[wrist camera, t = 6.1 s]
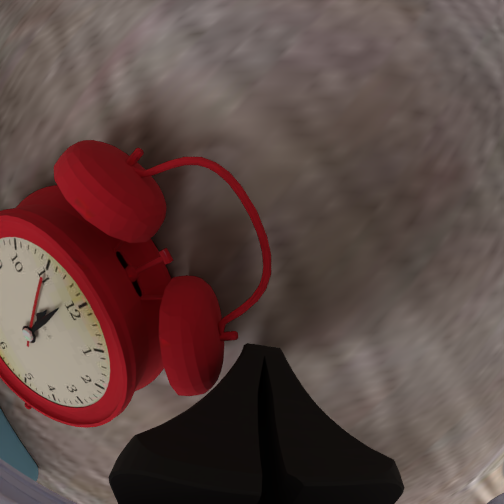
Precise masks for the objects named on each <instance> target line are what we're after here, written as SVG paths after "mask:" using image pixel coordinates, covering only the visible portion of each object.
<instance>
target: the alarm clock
mask: <svg viewBox="0 0 504 504" xmlns="http://www.w3.org/2000/svg"><path fill="white" fill-rule="evenodd" d="M143 154H144V152H143V150H142V149H140V148H136V149H135V151H134V152H133V153H132V154H131V155H130V156H129V155H128V154H126V153H124V152H123V151H121V150H120V149H118V148H116V147H115V146H112V145H109V144H107V143H104V142H99V141H95V140H85V141H80V142H78V143H76V144H74V145H72V146H70V147H69V148H68V149H67V150H66V151H65V152H64V153H63V154H62V155H61V156H60V158H59V159H58V161H57V162H56V164H55V165H54V180H55V181H56V183H57V185H55V186H49V187H45V188H42V189H40V190H37V191H35V192H34V193H32V194H30V195H29V196H27V197H26V198H25V199H24V200H23V201H21V203H20V204H19V205H18V206H17V207H16V208H13V209H6V210H2V211H0V378H1V379H2V380H3V381H4V382H5V384H6V385H7V386H8V387H9V388H10V389H11V390H12V391H13V392H14V393H15V394H16V395H17V396H19V397H20V398H21V399H22V400H23V401H24V402H25V407H26V408H27V409H31V408H34V409H35V410H37V411H38V412H40V413H42V414H43V415H45V416H47V417H49V418H51V419H53V420H55V421H58V422H61V423H63V424H67V425H71V426H75V427H96V426H100V425H103V424H105V423H107V422H109V421H111V420H112V419H113V418H115V417H116V416H118V415H119V414H120V413H122V412H123V411H124V409H125V408H126V407H127V405H128V404H129V402H130V401H131V399H132V396H133V394H134V392H135V391H136V390H139V389H141V388H143V387H145V386H146V385H148V384H149V383H151V382H152V381H153V380H154V379H155V378H156V377H157V376H158V375H159V374H160V373H161V371H162V370H163V369H164V368H165V371H166V374H167V377H168V380H169V383H170V385H171V386H172V388H173V389H174V390H175V392H176V393H177V394H178V395H182V396H193V395H200V394H204V393H206V392H207V391H208V390H209V389H211V388H212V387H213V385H214V384H215V383H216V381H217V380H218V377H219V375H220V372H221V369H222V364H223V356H224V341H228V340H237V338H238V333H237V332H236V331H231V332H230V331H229V332H224V329H225V325H226V324H227V323H228V322H230V321H232V320H234V319H235V318H237V317H239V316H241V315H242V314H243V313H244V312H246V311H247V310H248V309H249V308H250V307H251V306H253V305H254V304H255V303H256V302H257V301H258V300H259V299H260V297H261V296H262V294H263V293H264V291H265V290H266V288H267V285H268V282H269V279H270V276H271V252H270V248H269V243H268V239H267V235H266V233H265V230H264V228H263V225H262V223H261V220H260V218H259V215H258V213H257V210H256V209H255V207H254V205H253V204H252V202H251V200H250V199H249V197H248V196H247V194H246V192H245V191H244V189H243V188H242V186H241V185H240V184H239V183H238V182H237V180H236V179H235V178H234V177H233V176H232V175H231V174H230V172H229V171H227V170H226V169H224V168H223V167H222V166H220V165H219V164H217V163H216V162H213V161H211V160H208V159H205V158H203V157H182V158H178V159H174V160H170V161H167V162H165V163H162V164H160V165H157V166H155V167H152V168H150V169H147V170H145V169H144V168H143V167H142V166H141V165H140V164H139V163H137V161H138V160H139V159H140V157H141V156H142V155H143ZM184 165H199V166H202V167H206V168H209V169H210V170H212V171H214V172H216V173H217V174H218V175H219V176H221V177H222V178H223V179H224V180H225V181H226V182H227V183H228V184H229V185H230V186H231V188H232V189H233V190H234V192H235V193H236V194H237V196H238V197H239V199H240V200H241V202H242V204H243V205H244V207H245V209H246V211H247V212H248V214H249V216H250V218H251V220H252V223H253V225H254V227H255V230H256V232H257V235H258V238H259V242H260V246H261V250H262V257H263V274H262V278H261V281H260V284H259V286H258V288H257V289H256V291H255V292H254V294H253V295H252V296H251V297H250V298H249V299H248V300H247V301H246V302H245V303H243V304H242V305H241V306H240V307H238V308H237V309H235V310H234V311H233V312H231V313H230V314H228V315H227V316H225V317H224V318H222V316H221V311H220V307H219V304H218V300H217V297H216V295H215V293H214V291H213V290H212V288H211V286H210V285H209V284H207V283H206V282H205V281H204V280H203V279H201V278H199V277H196V276H188V275H186V276H178V277H173V278H172V279H171V277H170V275H169V272H168V270H167V268H166V266H165V265H166V264H168V263H170V262H172V261H173V259H172V257H171V255H170V253H169V251H168V249H167V248H165V249H163V250H161V251H160V252H159V251H158V249H157V248H156V246H155V244H154V243H153V241H152V240H151V237H153V236H154V235H155V234H156V232H157V231H158V230H159V228H160V227H161V225H162V223H163V222H164V219H165V215H166V209H167V208H166V202H165V199H164V196H163V193H162V191H161V189H160V187H159V186H158V184H157V183H156V181H155V180H154V179H153V178H152V176H153V175H155V174H158V173H161V172H163V171H166V170H169V169H172V168H175V167H179V166H184Z"/></svg>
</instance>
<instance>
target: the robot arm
mask: <svg viewBox="0 0 504 504" xmlns="http://www.w3.org/2000/svg"><path fill="white" fill-rule="evenodd" d="M109 483H110V486H111V488H112V490H113V493H114V495H115V497H116V500H117V502H118V504H394V503H395V502H396V501H397V500H398V499H399V497H400V496H401V495H402V493H403V490H404V485H403V482H402V479H401V476H400V473H399V470H398V468H397V466H396V464H395V461H394V460H393V459H391V458H389V457H387V456H385V455H383V454H381V453H379V452H377V451H375V450H373V449H371V448H370V447H368V446H366V445H365V444H363V443H362V442H360V441H359V440H357V439H356V438H354V437H353V436H351V435H350V434H349V433H347V432H346V431H345V430H343V429H342V428H341V427H340V426H339V425H337V424H336V423H335V422H334V421H333V420H332V419H330V418H329V417H328V416H327V415H326V414H325V413H324V412H323V411H322V410H321V409H320V407H319V406H318V405H317V404H316V403H315V402H314V401H313V400H312V398H311V397H310V396H309V394H308V393H307V392H306V390H305V389H304V388H303V386H302V385H301V383H300V382H299V380H298V379H297V377H296V375H295V374H294V372H293V371H292V369H291V367H290V365H289V364H288V362H287V360H286V358H285V356H284V354H283V352H282V350H281V349H280V348H276V347H269V346H262V345H255V344H249V343H247V344H245V345H244V347H243V350H242V352H241V354H240V356H239V358H238V359H237V361H236V362H235V364H234V365H233V366H232V368H231V369H230V371H229V372H228V373H227V374H226V376H225V377H224V378H223V379H222V380H221V381H220V382H219V383H218V385H217V386H216V387H215V388H214V389H213V390H211V391H210V392H209V393H208V394H207V395H206V396H205V397H204V398H202V399H201V400H200V401H199V402H197V403H196V404H195V405H193V406H192V407H191V408H189V409H188V410H186V411H185V412H183V413H181V414H180V415H178V416H176V417H174V418H173V419H171V420H169V421H167V422H165V423H164V424H161V425H159V426H157V427H155V428H152V429H150V430H147V431H145V432H142V433H140V434H137V435H135V436H134V437H133V438H132V439H131V440H130V442H129V443H128V444H127V445H126V447H125V448H124V449H123V451H122V452H121V454H120V455H119V457H118V458H117V460H116V462H115V465H114V467H113V469H112V471H111V473H110V475H109ZM0 504H77V503H75V502H73V501H71V500H69V499H67V498H65V497H63V496H61V495H59V494H57V493H55V492H53V491H52V490H50V489H48V488H46V487H44V486H43V485H41V484H39V483H37V482H36V481H34V480H32V479H31V478H29V477H27V476H26V475H24V474H23V473H21V472H20V471H18V470H16V469H15V468H13V467H12V466H11V465H9V464H8V463H6V462H5V461H3V460H2V459H1V458H0ZM487 504H504V493H502V494H500V495H498V496H497V497H495V498H494V499H492V500H491V501H490V502H488V503H487Z"/></svg>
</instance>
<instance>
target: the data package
mask: <svg viewBox="0 0 504 504" xmlns="http://www.w3.org/2000/svg"><path fill="white" fill-rule="evenodd" d="M0 458H1V459H2V460H3V461H5V462H6V463H8V464H9V465H11V466H12V467H13V468H15V469H16V470H18V471H20V472H21V473H23V474H24V475H26V476H27V477H29V478H31V479H32V480H34V481H36V480H37V478H38V467H37V465H36V463H35V462H34V460H33V459H32V457H31V456H30V455H29V453H28V452H27V450H26V449H25V447H24V446H23V444H22V443H21V441H20V440H19V438H18V437H17V435H16V434H15V432H14V430H13V429H12V427H11V426H10V424H9V422H8V421H7V419H6V417H5V415H4V414H3V412H2V410H1V408H0Z"/></svg>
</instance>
